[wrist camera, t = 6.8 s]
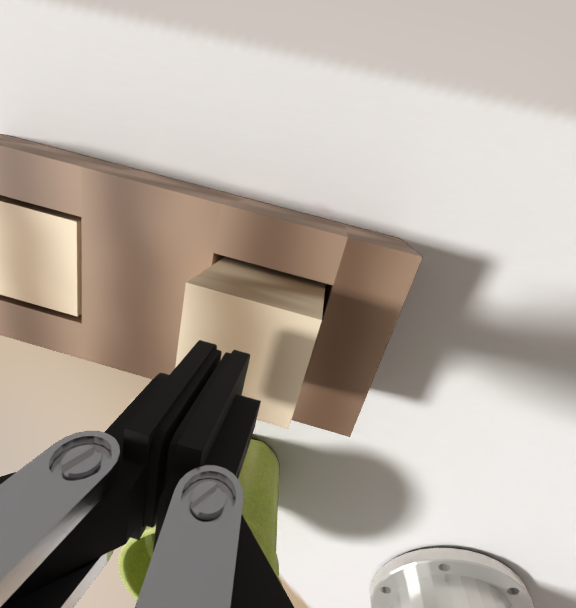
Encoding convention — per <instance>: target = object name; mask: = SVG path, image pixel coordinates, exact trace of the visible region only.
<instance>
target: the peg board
mask: <svg viewBox="0 0 576 608" xmlns="http://www.w3.org/2000/svg"><path fill="white" fill-rule="evenodd" d="M0 195H2V196H6V197H9V198H13V199H17V200H20V201H24V202H28V203H31V204H35V205H39V206H42V207H46V208H50V209H54V210H57V211H61V212H65V213H68V214H72V215H76V216H79V217H81V234H82V314H81V315H79V316H74V315H70V314H67V313H63V312H60V311H56V310H53V309H49V308H46V307H42V306H39V305H35V304H32V303H28V302H25V301H21V300H18V299H14V298H11V297H7V296H4V295H0V335H3V336H6V337H9V338H13V339H16V340H20V341H23V342H27V343H30V344H33V345H37V346H40V347H44V348H47V349H50V350H54V351H57V352H61V353H64V354H68V355H71V356H74V357H78V358H81V359H85V360H88V361H92V362H96V363H98V364H102V365H105V366H109V367H112V368H116V369H119V370H123V371H126V372H129V373H133V374H136V375H140V376H143V377H146V378H150V379H154V378H155V377H156V376H157V375H158V374H159V373H165V374H168V375H170V374H171V373H172V371H173V370H174V369H175V365H176V357H177V349H178V341H179V333H180V325H181V317H182V309H183V301H184V293H185V286H186V282H187V281H189V280H190V279H192V278H194V277H195V276H197V275H198V274H200V273H201V272H203V271H204V270H206V269H207V268H209V267H210V266H212V265H213V264H215V263H216V262H218V261H219V260H221V259H223V258H224V257H230V258H234V259H237V260H241V261H245V262H248V263H252V264H256V265H259V266H263V267H267V268H270V269H274V270H278V271H282V272H285V273H289V274H293V275H296V276H300V277H304V278H307V279H311V280H315V281H318V282H322V283H326V284H327V285H326V288H325V294H324V304H323V314H322V322H321V325H320V328H319V331H318V335H317V338H316V341H315V344H314V348H313V351H312V354H311V357H310V361H309V364H308V367H307V370H306V374H305V377H304V380H303V383H302V387H301V390H300V393H299V396H298V400H297V403H296V406H295V409H294V413H293V416H292V419H291V420H294V421H297V422H301V423H304V424H307V425H311V426H314V427H318V428H321V429H325V430H328V431H331V432H335V433H338V434H342V435H345V436H349V437H350V435H351V433H352V430H353V428H354V425H355V423H356V420H357V418H358V415H359V413H360V411H361V408H362V406H363V403H364V401H365V398H366V396H367V393H368V391H369V388H370V386H371V383H372V381H373V378H374V376H375V373H376V371H377V368H378V366H379V364H380V361H381V359H382V356H383V354H384V351H385V349H386V346H387V344H388V341H389V339H390V336H391V334H392V331H393V329H394V326H395V324H396V321H397V319H398V317H399V314H400V312H401V309H402V307H403V304H404V302H405V299H406V297H407V294H408V292H409V289H410V287H411V284H412V282H413V279H414V277H415V274H416V272H417V270H418V267H419V265H420V262H421V260H422V256H421V255H419V254H418V253H417V252H416V251H414V250H413V249H412V248H411V247H410V246H408V245H407V244H406V243H405V242H404V241H402V240H401V239H400V238H396V237H392V236H388V235H385V234H381V233H377V232H373V231H369V230H366V229H362V228H358V227H354V226H350V225H347V224H343V223H339V222H335V221H331V220H328V219H324V218H320V217H316V216H312V215H309V214H305V213H301V212H297V211H293V210H290V209H286V208H282V207H278V206H274V205H271V204H267V203H263V202H259V201H255V200H252V199H248V198H244V197H240V196H236V195H233V194H229V193H225V192H221V191H217V190H214V189H210V188H206V187H202V186H198V185H195V184H191V183H187V182H183V181H179V180H176V179H172V178H168V177H164V176H160V175H157V174H153V173H149V172H145V171H141V170H138V169H134V168H130V167H126V166H122V165H119V164H115V163H111V162H107V161H103V160H100V159H96V158H92V157H88V156H84V155H81V154H77V153H73V152H69V151H65V150H62V149H58V148H54V147H50V146H46V145H43V144H39V143H35V142H31V141H27V140H24V139H20V138H16V137H12V136H8V135H5V134H0Z"/></svg>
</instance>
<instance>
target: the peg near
mask: <svg viewBox="0 0 576 608" xmlns="http://www.w3.org/2000/svg"><path fill="white" fill-rule="evenodd" d="M324 294H325V283H322V282H318V281H315V280H311V279H307V278H304V277H300V276H296V275H293V274H289V273H285V272H282V271H278V270H274V269H270V268H267V267H263V266H259V265H256V264H252V263H248V262H245V261H241V260H237V259H234V258H230V257H224V258H223V259H221V260H219V261H218V262H216V263H215V264H213V265H212V266H210V267H209V268H207V269H206V270H204V271H203V272H201V273H200V274H198V275H197V276H195V277H194V278H192V279H190V280H189V281H187V282H186V286H185V293H184V301H183V309H182V317H181V325H180V333H179V341H178V349H177V357H176V365H175V368H176V367H177V365H178V364H179V363H180V362H181V361H182V360H183V358H184V357H185V356H186V355H187V354H188V353H189V351H190V350H191V349H192V348H193V347H194V345H195V344H196V343H197V342H198V341H199V340H202V341H205V342H209V343H212V344H216V345H217V350H221V351H222V354H221V359H222V357H223V356H224V354H225V353H226V352H228V353H232V351H233V350H237V351H241V352H245V353H248V354H250V360H249V365H248V369H247V373H246V378H245V382H244V387H243V391H242V396H245V397H249V398H252V399H256V400H259V401H261V403H260V408H259V412H258V416H257V420H260V421H263V422H267V423H270V424H274V425H277V426H280V427H284V428H287V429H289V426H290V422H291V419H292V416H293V413H294V409H295V406H296V403H297V400H298V396H299V393H300V390H301V387H302V383H303V380H304V377H305V374H306V370H307V367H308V364H309V361H310V357H311V354H312V351H313V348H314V344H315V341H316V338H317V335H318V331H319V328H320V325H321V322H322V314H323V304H324Z"/></svg>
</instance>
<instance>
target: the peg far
mask: <svg viewBox="0 0 576 608" xmlns="http://www.w3.org/2000/svg"><path fill="white" fill-rule="evenodd" d="M0 295H4V296H7V297H11V298H14V299H18V300H21V301H25V302H28V303H32V304H35V305H39V306H42V307H46V308H49V309H53V310H56V311H60V312H63V313H67V314H70V315H74V316H79V315H81V314H82V234H81V217H79V216H76V215H72V214H68V213H65V212H61V211H57V210H54V209H50V208H46V207H42V206H39V205H35V204H31V203H28V202H24V201H20V200H17V199H13V198H9V197H6V196H2V195H0Z"/></svg>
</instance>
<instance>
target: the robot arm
mask: <svg viewBox="0 0 576 608" xmlns="http://www.w3.org/2000/svg"><path fill="white" fill-rule="evenodd" d="M221 354H222V351H221V350H217V345H216V344H212V343H209V342H205V341H202V340H199V341H198V342H197V343H196V344H195V345H194V347H193V348H192V349H191V350H190V351H189V353H188V354H187V355H186V356H185V357H184V358H183V360H182V361H181V362H180V363H179V364H178V365H177V367H176V368H175V369H174V370H173V371H172V373H171V374H170V375H168V374H165V373H159V374H158V375H157V376H156V377H155V378H154V379H153V380H152V381H151V382H150V383H149V384H148V385H147V386H146V387H145V389H144V390H143V391H142V392H141V393H140V394H139V395H138V396H137V397H136V398H135V400H134V401H133V402H132V403H131V404H130V405H129V406H128V407H127V408H126V409H125V410H124V412H123V413H122V414H121V415H120V416H119V417H118V418H117V419H116V420H115V421H114V423H113V424H112V425H111V426H110V427H109V428H108V429H107V430H106V431H105V432H100V431H84V432H79V433H75V434H72V435H70V436H67V437H65V438H63V439H62V440H60V441H58V442H56V443H55V444H53V445H52V446H51V447H49V448H48V449H47V450H45V451H44V452H43V453H42V454H40V455H39V456H37V457H36V458H35V459H33V460H32V461H31V462H29V463H28V464H27V465H25V466H24V467H23V468H22V469H20V470H19V471H18V472H15V473H11V474H8V475H5V476H1V477H0V608H73V607H74V606H75V605H76V603H77V602H78V601H79V599H80V598H81V597H82V596H83V594H84V593H85V592H86V590H87V589H88V588H89V586H90V585H91V584H92V582H93V581H94V579H95V578H96V577H97V576H98V574H99V573H100V571H101V570H102V569H103V568H104V566H105V565H106V564H107V562H108V560H109V559H110V557H111V555H112V554H113V550H114V549H116V548H118V547H120V546H122V545H125V544H126V543H127V542H128V540H129V538H133V539H136V540H140V538H141V536H142V534H143V532H144V530H145V529H146V527H147V526H148V527H151V528H153V527H154V526H155V524H156V529H155V538H154V546H153V555H152V558H151V561H150V564H149V567H148V570H147V573H146V576H145V579H144V582H143V585H142V588H141V591H140V594H139V597H138V600H137V603H136V606H135V608H294V606H293V605H292V603H291V601H290V599H289V597H288V596H287V594H286V592H285V590H284V589H283V587H282V585H281V583H280V581H279V580H278V578H277V576H276V574H275V572H274V571H273V569H272V567H271V565H270V563H269V562H268V560H267V558H266V556H265V555H264V553H263V551H262V549H261V547H260V546H259V544H258V542H257V540H256V538H255V537H254V535H253V533H252V531H251V530H250V528H249V526H248V524H247V522H246V521H245V519H244V517H243V515H242V506H243V489H242V486H241V484H240V481H239V480H238V479H239V475H240V472H241V469H242V466H243V463H244V460H245V457H246V454H247V450H248V447H249V444H250V441H251V437H252V434H253V430H254V427H255V423H256V419H257V416H258V412H259V408H260V403H261V401H259V400H256V399H252V398H249V397H245V396H242V391H243V387H244V382H245V378H246V373H247V369H248V365H249V360H250V354H248V353H245V352H241V351H237V350H233V351H232V353H228V352H226V353H225V354H224V356H223V357H222V359H221ZM370 598H371V607H372V608H534V605H533V602H532V599H531V597H530V595H529V593H528V591H527V588H526V586H525V585H524V583H523V582H522V580H521V579H520V577H519V576H518V575H517V574H515V573H514V572H513V571H512V570H511V569H510V568H509V567H507V566H505V565H504V564H502V563H501V562H499V561H497V560H495V559H493V558H490V557H488V556H485V555H483V554H480V553H476V552H472V551H469V550H463V549H455V548H429V549H420V550H416V551H412V552H408V553H405V554H403V555H400V556H398V557H396V558H394V559H392V560H391V561H389V562H388V563H386V564H385V565H384V566H383V567H382V568H381V569H380V570H379V571H378V572H377V573H376V574H375V576H374V578H373V580H372V582H371V587H370Z"/></svg>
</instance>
